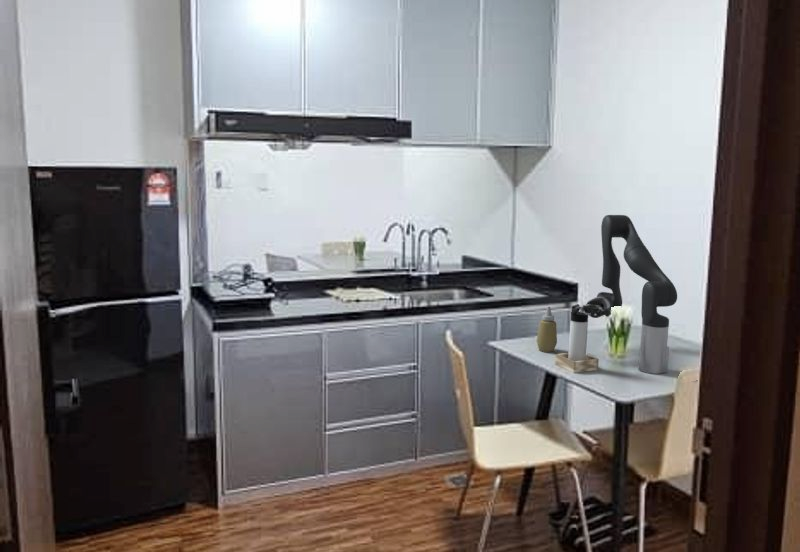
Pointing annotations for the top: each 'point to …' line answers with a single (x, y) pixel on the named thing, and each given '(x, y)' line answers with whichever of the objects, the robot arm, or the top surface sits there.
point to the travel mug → (578, 336)
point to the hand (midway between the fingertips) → (586, 313)
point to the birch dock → (576, 363)
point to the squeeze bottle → (547, 332)
